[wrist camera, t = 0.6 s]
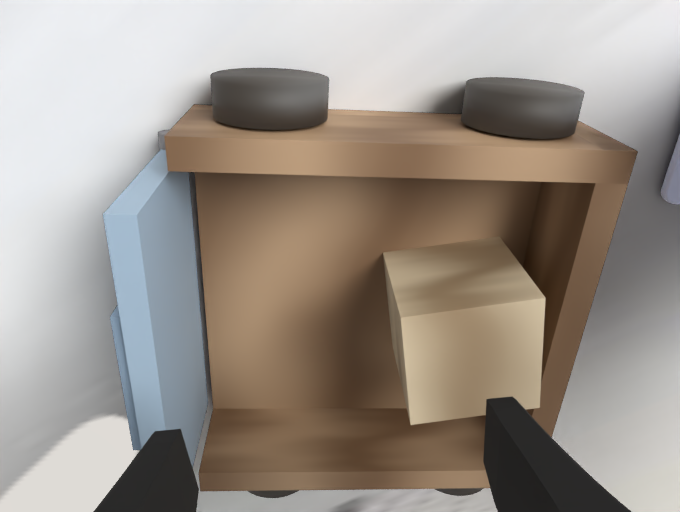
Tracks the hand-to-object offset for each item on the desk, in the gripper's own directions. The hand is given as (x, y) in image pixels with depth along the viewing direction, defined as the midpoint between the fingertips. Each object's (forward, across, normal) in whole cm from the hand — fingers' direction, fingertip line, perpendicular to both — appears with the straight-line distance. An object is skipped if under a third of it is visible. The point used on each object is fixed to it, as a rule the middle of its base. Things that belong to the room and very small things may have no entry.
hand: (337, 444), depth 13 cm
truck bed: (+10, -2, +2) cm, 10 cm away
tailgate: (+9, +6, 0) cm, 11 cm away
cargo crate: (+9, -4, +2) cm, 10 cm away
